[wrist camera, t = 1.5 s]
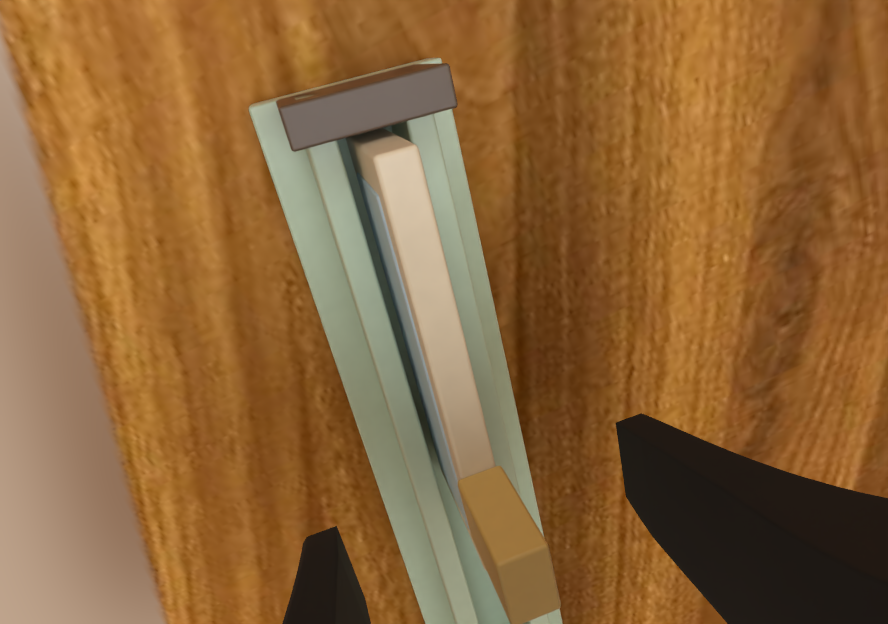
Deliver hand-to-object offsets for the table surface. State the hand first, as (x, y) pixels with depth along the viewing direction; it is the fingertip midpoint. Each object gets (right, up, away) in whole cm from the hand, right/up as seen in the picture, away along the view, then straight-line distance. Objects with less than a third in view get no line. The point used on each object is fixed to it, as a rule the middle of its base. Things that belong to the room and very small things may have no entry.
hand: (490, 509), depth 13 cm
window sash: (-2, +4, +3) cm, 5 cm away
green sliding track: (-1, 0, +6) cm, 6 cm away
